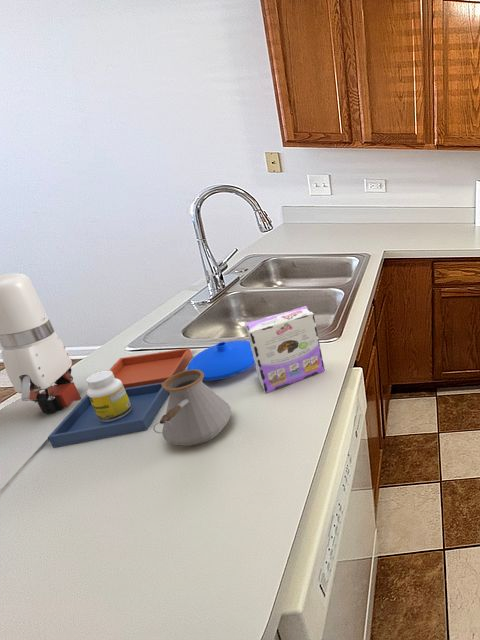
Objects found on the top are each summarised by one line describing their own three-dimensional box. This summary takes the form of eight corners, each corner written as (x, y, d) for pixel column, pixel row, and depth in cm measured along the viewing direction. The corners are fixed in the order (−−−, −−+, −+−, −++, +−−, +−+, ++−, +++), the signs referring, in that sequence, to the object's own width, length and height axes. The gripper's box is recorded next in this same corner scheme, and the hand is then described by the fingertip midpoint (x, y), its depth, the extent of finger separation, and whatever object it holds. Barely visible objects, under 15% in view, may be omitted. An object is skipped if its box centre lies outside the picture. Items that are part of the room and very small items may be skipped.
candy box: (317, 361, 103) (306, 304, 97) (325, 371, 99) (314, 313, 93) (259, 382, 95) (243, 321, 89) (265, 394, 91) (249, 331, 84)
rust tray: (95, 399, 89) (91, 389, 88) (123, 366, 101) (120, 358, 100) (174, 385, 94) (170, 376, 93) (192, 356, 105) (189, 347, 104)
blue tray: (53, 447, 76) (47, 437, 75) (91, 404, 88) (86, 394, 87) (147, 429, 80) (142, 419, 79) (171, 390, 92) (168, 381, 91)
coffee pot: (173, 421, 83) (150, 361, 77) (236, 406, 87) (219, 347, 81) (145, 506, 65) (112, 435, 59) (226, 480, 69) (203, 412, 64)
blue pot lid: (266, 346, 110) (260, 324, 107) (259, 378, 96) (253, 354, 93) (199, 358, 104) (192, 335, 102) (182, 394, 91) (173, 368, 88)
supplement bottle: (92, 420, 82) (74, 381, 78) (120, 403, 87) (103, 366, 83) (112, 425, 81) (94, 385, 77) (139, 407, 86) (123, 369, 82)
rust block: (43, 415, 84) (35, 398, 83) (56, 402, 88) (48, 386, 87) (69, 411, 86) (61, 394, 84) (81, 398, 90) (73, 382, 88)
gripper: (31, 317, 86) (65, 386, 93) (-33, 359, 71) (12, 437, 78) (74, 312, 88) (103, 380, 95) (20, 352, 74) (60, 428, 81)
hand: (62, 405), depth 87 cm, fingers closed on rust block, 4 cm apart
